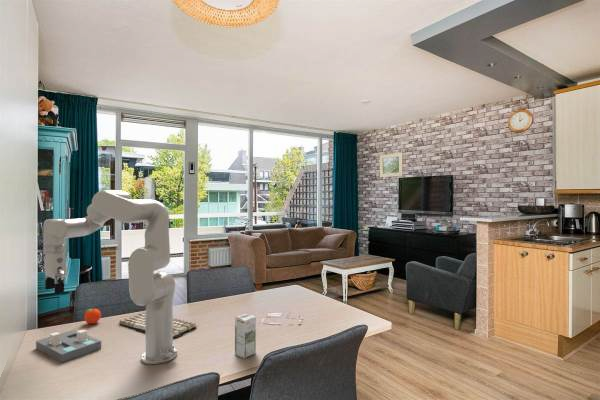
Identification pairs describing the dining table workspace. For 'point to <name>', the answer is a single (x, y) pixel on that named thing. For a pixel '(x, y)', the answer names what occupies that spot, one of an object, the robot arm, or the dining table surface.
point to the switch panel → (68, 346)
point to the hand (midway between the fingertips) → (54, 290)
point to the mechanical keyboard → (139, 325)
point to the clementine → (92, 316)
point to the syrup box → (245, 335)
